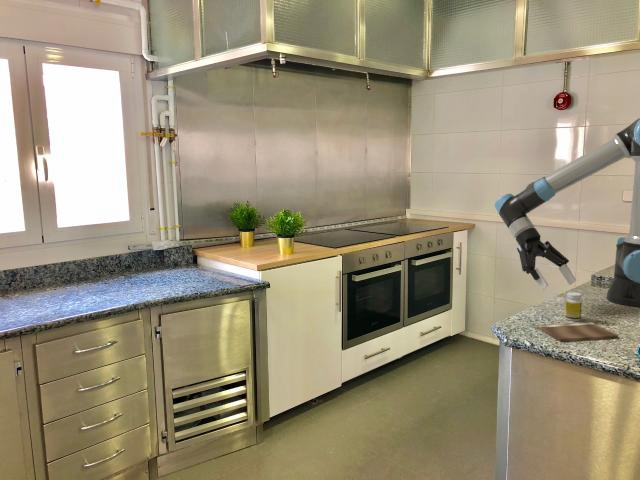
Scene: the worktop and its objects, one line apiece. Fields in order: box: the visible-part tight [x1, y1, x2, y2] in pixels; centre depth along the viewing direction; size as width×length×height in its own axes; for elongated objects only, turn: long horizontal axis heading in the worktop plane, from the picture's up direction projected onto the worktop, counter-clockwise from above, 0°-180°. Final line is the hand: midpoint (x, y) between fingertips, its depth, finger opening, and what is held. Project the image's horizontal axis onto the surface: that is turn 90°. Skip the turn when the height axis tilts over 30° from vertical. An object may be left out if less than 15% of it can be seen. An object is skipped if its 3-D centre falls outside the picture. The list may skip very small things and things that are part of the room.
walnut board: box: [536, 321, 619, 343], centre depth 152 cm, size 18×12×1 cm, turn 98°
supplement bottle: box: [563, 291, 583, 322], centre depth 165 cm, size 5×5×8 cm
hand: (559, 285), depth 168 cm, fingers open, 13 cm apart
